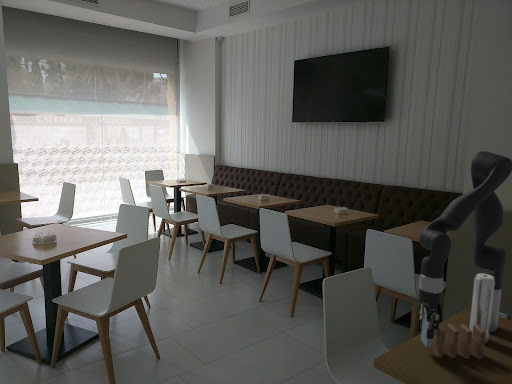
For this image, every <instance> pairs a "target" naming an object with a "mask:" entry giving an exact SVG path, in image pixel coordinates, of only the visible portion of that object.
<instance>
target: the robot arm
mask: <svg viewBox="0 0 512 384" xmlns="http://www.w3.org/2000/svg"><path fill="white" fill-rule="evenodd" d="M470 164H471V165H470V174H471V182H472V190H469V191H468V192H466V193H464V194H461V195H460V196H458V197H456V198H455V199H453V200H452V201H451V202H450V203H449V204H448V205H447V207H445V209H444V210H443V212H441V214H440V215H439V217H437V218H436V219H434V220H433V221H432V222H430V223H429V224H428V225H426V227H425V228H424V229H422V231H421V233H420V235H419V239H418V240H419V244H420V245H421V247H422V248H424V249H426V250H429V251H430V253H429V256H425V257H423V258H422V260H421V265H420V266H421V268H420V276H419V281H418V282H419V283H418V290H417V315H418V317H419V320H420V323H419V325H420V326H419V330H420V331H421V330H422V318H423V315H424V314H425V320H426V321H427V333H426V337H427V339H432V340H433V338H434V330H438V328H439V324H440V323H441V319H442V315H441V314H439V313H438V308H437V306H438V305H440V304H442V302H443V301H442V300H443V292H444V274H445V273H444V272H445V265H446V262H447V260H448V257H449V255H450V253H451V249H452V240H451V237H450V235H448V234H447V233H449V232H456V231H458V230H459V229H460V228H461V227H462V225H464V223H465V222H466V221H467V219H468V218H469V216H470V215H471V214H472V213H473V225H474V229H473V230H474V238H473V239H474V241H473V255H472V260H473V264H474V266H475V267H477V268H479V269H483V270H491V271H493V272H491V273H488V275H491V276H493V277H494V279H495V285H494V294H493V303H492V312H491V321H490V329H489V333H494V332H496V331H498V330H497V329H498V324H499V316H500V307H501V297H502V296H501V295H502V289H503V278H504V272H505V267H506V261H507V251H506V249H505V248H503V247H499V246H492V245H487V244H485V243H486V242H487V241H488V240H489V239H490V238H491V237H492V236H493V235H495V234H496V233H497V232H498V231H499V230H500V229H501V228H502V226H503V222H504V206H503V204H502V201H500V199H499V196H498V195H497V193H496V192H495V191H497V189H498V188H500V186H501V185H502V184H503V183H504V182H506V181H507V179H508V178H509V177H510V175H511V173H512V159H511V158H510V157H507V156H504V155H502V154H497V153H493V152H490V151H483V150H482V151H478V152H477V153H475V155H474V156H473V158H472V160H471V163H470ZM428 318H431V319H428ZM440 325H441V324H440Z"/></svg>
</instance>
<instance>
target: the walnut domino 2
mask: <svg viewBox="0 0 512 384" xmlns="http://www.w3.org/2000/svg"><path fill="white" fill-rule="evenodd" d="M459 334H460V330H459V329H458V328H457V327H455V325H454V324H453V323H447V325H446V333H445V337H446V338H445V344H444V351H445V352H446V353H447V355H448V356H449V357H450V358H451V359H457V354H458V344H459Z"/></svg>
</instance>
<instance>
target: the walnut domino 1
mask: <svg viewBox="0 0 512 384" xmlns="http://www.w3.org/2000/svg"><path fill="white" fill-rule="evenodd" d="M445 337H446V330H445V328H444V327H443V326H442V325H441V324H439V328H438V330H434V338H433V339H432V345H431V347H432V348H431V350H432V351H433V353H434V354H435V356H436V357H437V358H438V359H439V358H440V359H442V358H444V351H445V341H446V338H445Z"/></svg>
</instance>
